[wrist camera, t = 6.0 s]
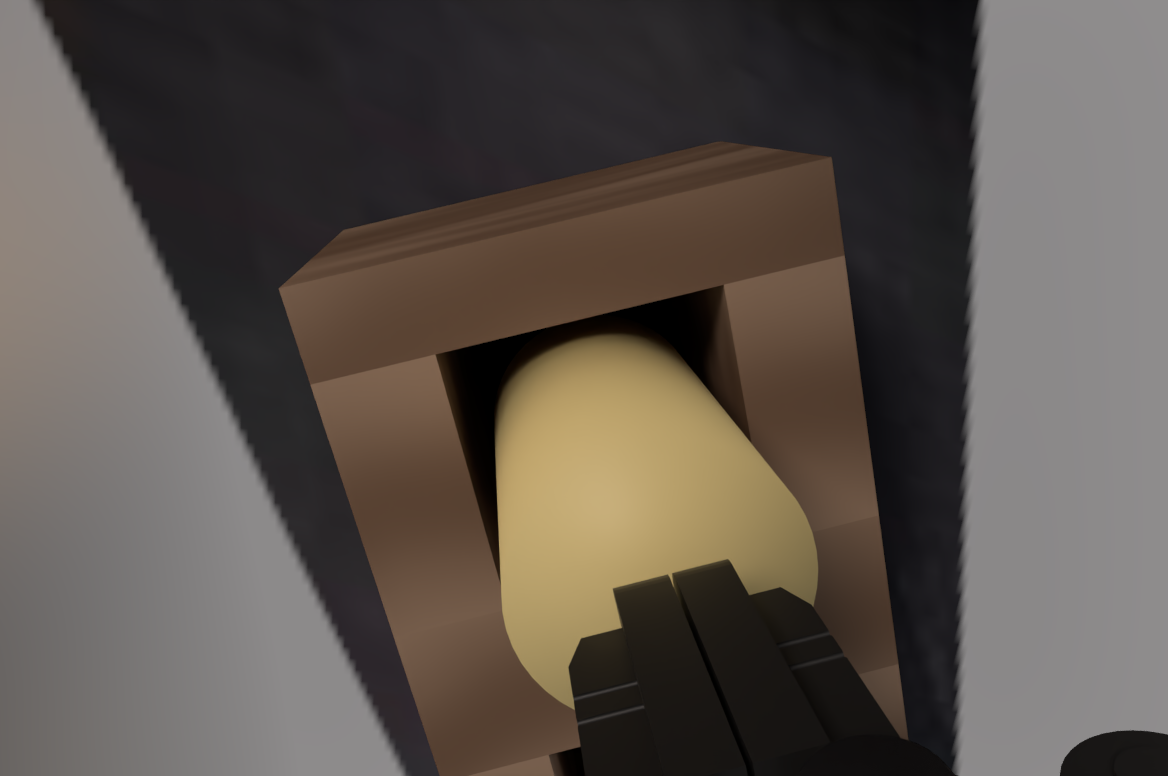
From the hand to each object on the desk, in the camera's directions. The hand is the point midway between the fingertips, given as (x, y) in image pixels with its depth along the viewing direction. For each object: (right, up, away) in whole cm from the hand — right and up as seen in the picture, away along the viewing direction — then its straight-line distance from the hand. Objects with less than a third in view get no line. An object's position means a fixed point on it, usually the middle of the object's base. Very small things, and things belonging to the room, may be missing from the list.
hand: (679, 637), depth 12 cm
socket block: (-1, 0, +15) cm, 15 cm away
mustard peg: (-1, +3, +9) cm, 9 cm away
